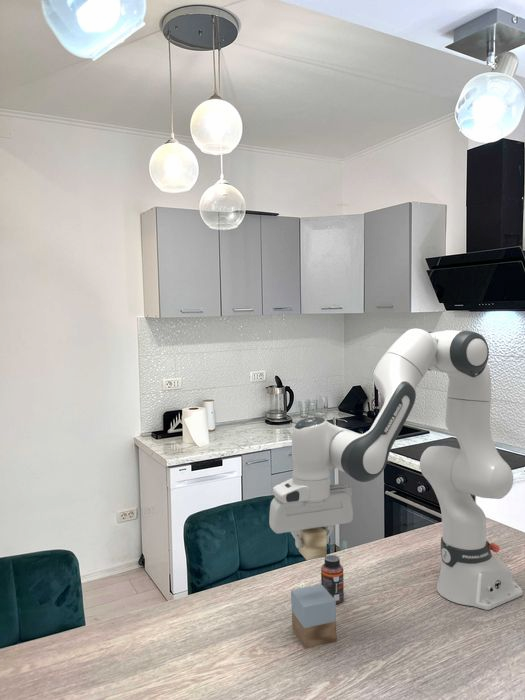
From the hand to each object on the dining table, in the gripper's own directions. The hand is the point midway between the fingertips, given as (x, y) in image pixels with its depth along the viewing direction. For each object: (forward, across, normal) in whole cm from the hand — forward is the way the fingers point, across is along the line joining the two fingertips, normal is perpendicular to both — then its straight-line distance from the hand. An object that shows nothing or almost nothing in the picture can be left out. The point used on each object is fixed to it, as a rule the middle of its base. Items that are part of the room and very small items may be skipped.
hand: (312, 545), depth 122 cm
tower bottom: (+22, 0, 0) cm, 22 cm away
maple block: (+2, 0, 0) cm, 2 cm away
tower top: (+17, 0, 0) cm, 17 cm away
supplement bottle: (+22, -11, -13) cm, 28 cm away
